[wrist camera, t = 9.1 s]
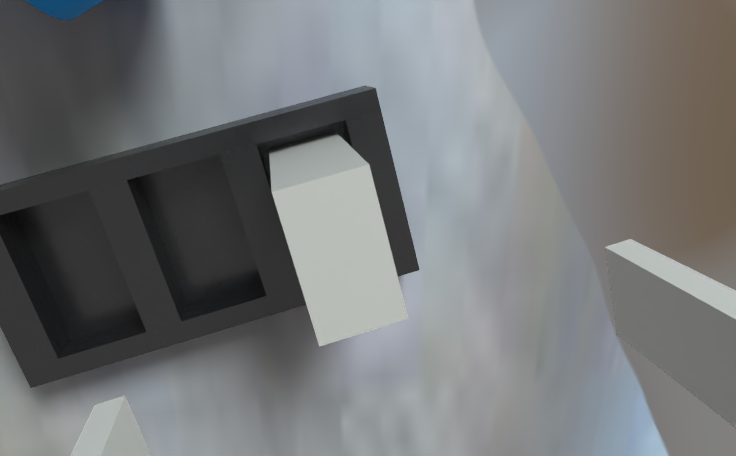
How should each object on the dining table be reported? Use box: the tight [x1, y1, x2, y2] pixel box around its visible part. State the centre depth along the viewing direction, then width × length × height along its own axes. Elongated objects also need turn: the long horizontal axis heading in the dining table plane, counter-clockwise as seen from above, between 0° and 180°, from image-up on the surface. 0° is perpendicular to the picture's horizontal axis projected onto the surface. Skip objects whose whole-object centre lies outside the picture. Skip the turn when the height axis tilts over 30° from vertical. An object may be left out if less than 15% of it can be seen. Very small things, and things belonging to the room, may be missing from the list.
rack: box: [0, 86, 419, 388], centre depth 34 cm, size 11×23×4 cm, turn 104°
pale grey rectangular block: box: [269, 131, 408, 347], centre depth 30 cm, size 7×4×12 cm, turn 14°
